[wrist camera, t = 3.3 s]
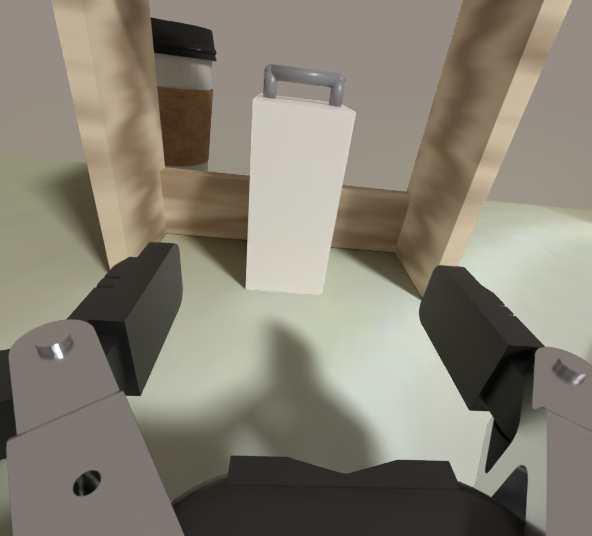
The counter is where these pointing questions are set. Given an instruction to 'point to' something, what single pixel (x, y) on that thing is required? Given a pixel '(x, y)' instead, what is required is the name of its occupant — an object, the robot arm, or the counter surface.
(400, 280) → the counter surface
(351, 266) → the counter surface
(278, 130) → the caddy
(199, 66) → the coffee cup
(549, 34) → the frame
